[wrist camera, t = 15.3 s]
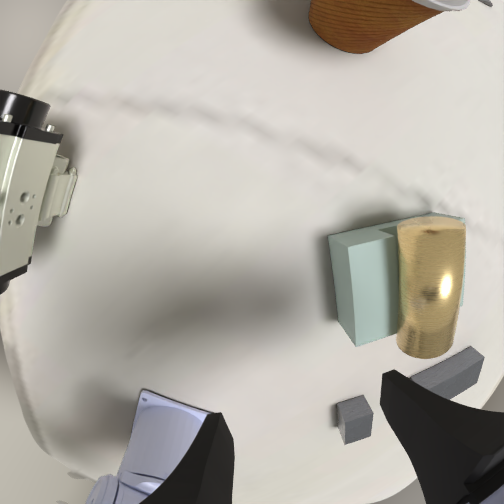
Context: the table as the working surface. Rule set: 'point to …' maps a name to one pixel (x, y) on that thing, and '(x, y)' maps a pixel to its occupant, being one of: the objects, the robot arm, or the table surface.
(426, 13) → the disposable coffee cup
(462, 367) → the grey rectangular blocks
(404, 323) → the gold rounded piece
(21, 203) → the pneumatic valve
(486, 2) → the half round rod
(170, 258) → the table surface
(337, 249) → the v block
